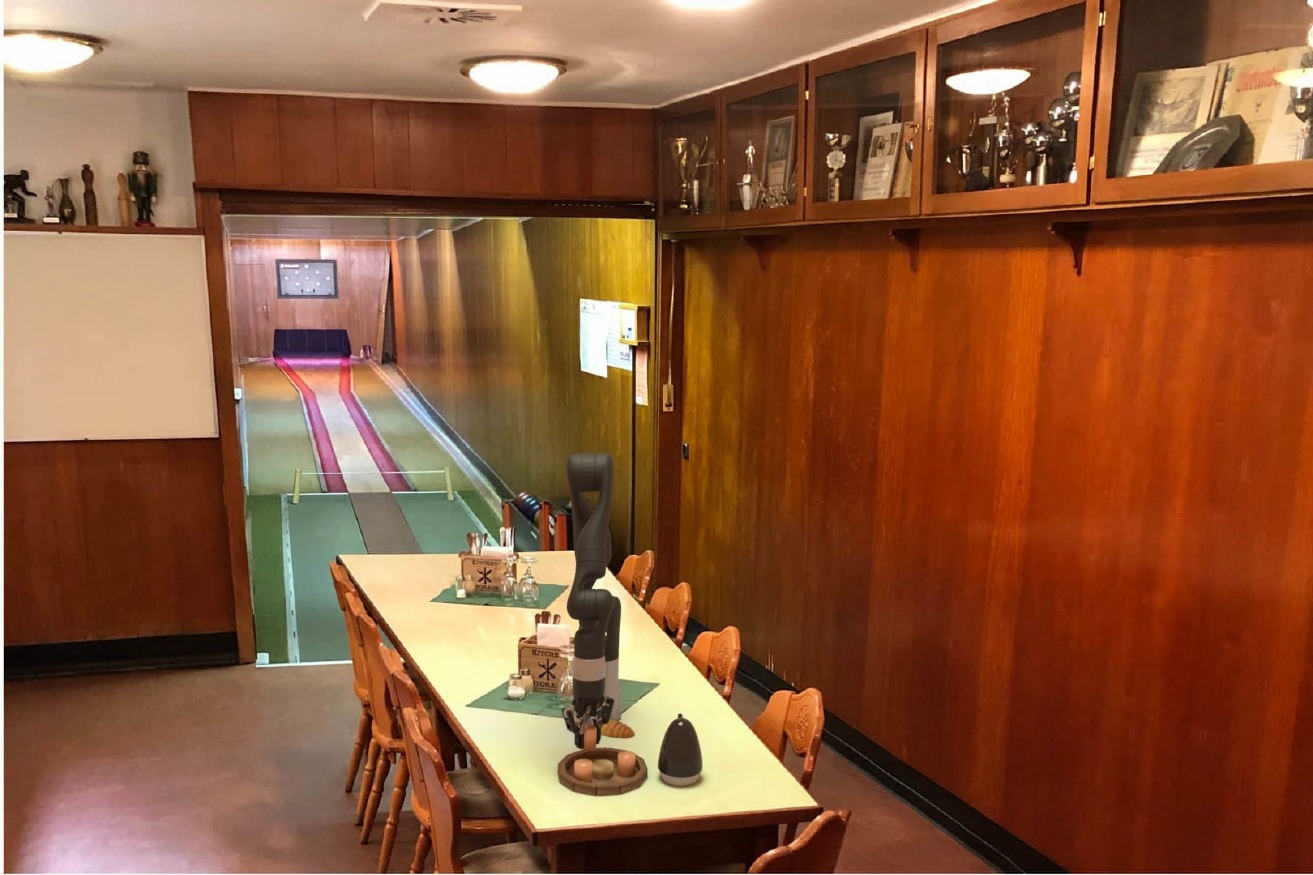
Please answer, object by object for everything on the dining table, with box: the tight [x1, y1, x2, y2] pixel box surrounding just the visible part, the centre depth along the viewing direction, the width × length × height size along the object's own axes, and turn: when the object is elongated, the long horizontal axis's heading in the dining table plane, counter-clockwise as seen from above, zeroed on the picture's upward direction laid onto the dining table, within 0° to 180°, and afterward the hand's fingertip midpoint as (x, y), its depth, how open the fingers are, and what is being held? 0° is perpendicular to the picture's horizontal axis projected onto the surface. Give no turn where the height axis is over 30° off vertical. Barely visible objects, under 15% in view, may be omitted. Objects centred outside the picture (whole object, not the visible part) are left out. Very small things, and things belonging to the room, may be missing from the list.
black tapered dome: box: [657, 713, 704, 787], centre depth 234 cm, size 10×10×15 cm
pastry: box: [601, 720, 636, 740], centre depth 259 cm, size 9×7×4 cm
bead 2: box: [582, 724, 597, 750], centre depth 239 cm, size 4×4×4 cm
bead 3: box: [618, 750, 636, 777], centre depth 237 cm, size 4×4×4 cm
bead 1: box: [574, 759, 592, 783], centre depth 232 cm, size 4×4×4 cm
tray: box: [557, 746, 649, 797], centre depth 236 cm, size 20×20×4 cm
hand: (587, 744), depth 239 cm, fingers closed on bead 2, 4 cm apart
